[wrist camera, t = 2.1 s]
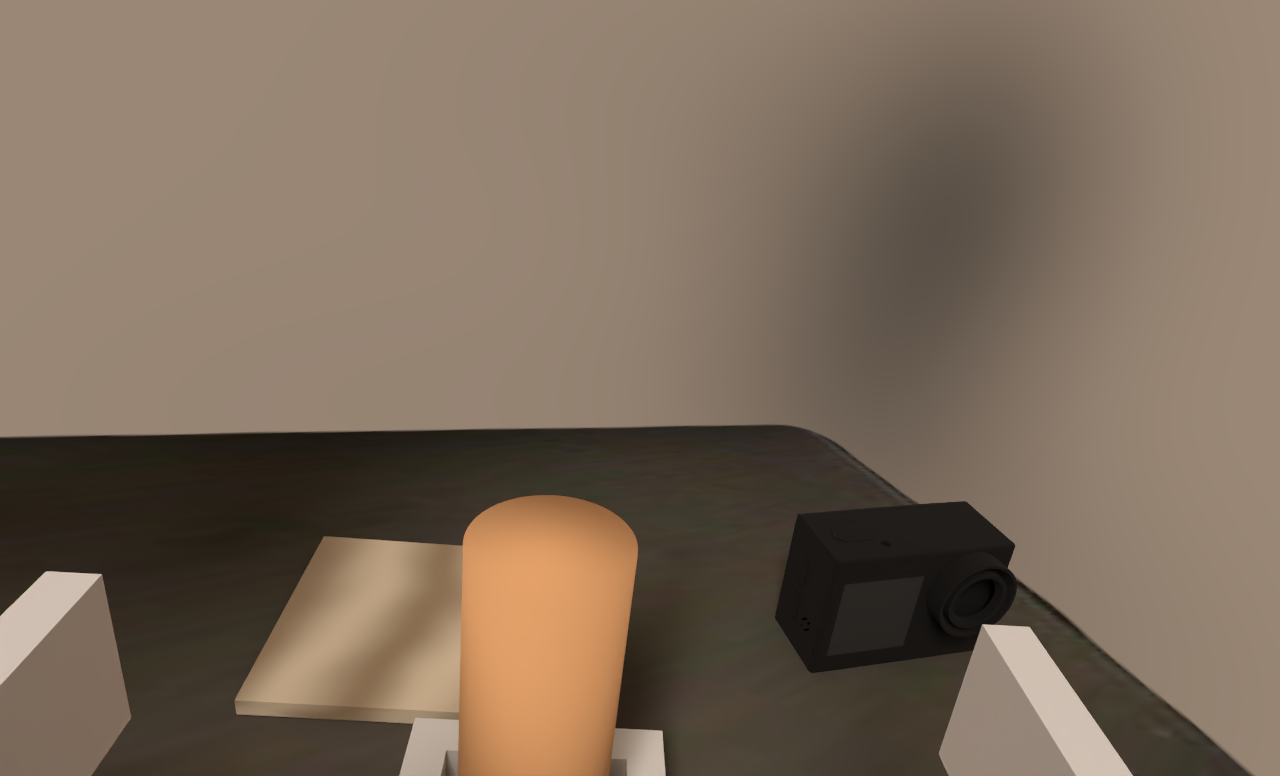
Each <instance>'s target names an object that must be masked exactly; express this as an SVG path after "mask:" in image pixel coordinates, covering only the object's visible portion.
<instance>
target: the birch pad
mask: <svg viewBox="0 0 1280 776" xmlns="http://www.w3.org/2000/svg"><path fill="white" fill-rule="evenodd" d="M462 565H463V546H457V545H443V544H428V543H414V542H399V541H385V540H370V539H356V538H341V537H327V536H324V537H323V539H322V541H321V543H320V544H319V546H318V548H317V550H316V552H315V554H314V555H313V557H312V559H311V561H310V563H309V565H308V566H307V568H306V570H305V572H304V574H303V576H302V577H301V579H300V581H299V583H298V585H297V587H296V588H295V590H294V592H293V594H292V596H291V598H290V599H289V601H288V603H287V605H286V607H285V609H284V610H283V612H282V614H281V616H280V618H279V620H278V621H277V623H276V625H275V627H274V629H273V631H272V632H271V634H270V636H269V638H268V640H267V642H266V643H265V645H264V647H263V649H262V651H261V653H260V654H259V656H258V658H257V660H256V662H255V664H254V665H253V667H252V669H251V671H250V673H249V675H248V676H247V678H246V680H245V682H244V684H243V686H242V688H241V689H240V691H239V693H238V695H237V697H236V699H235V708H236V714H240V715H259V716H278V717H297V718H316V719H335V720H354V721H373V722H392V723H411V724H414V721H415V718H431V719H450V720H459V697H460V653H461V609H462Z"/></svg>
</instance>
